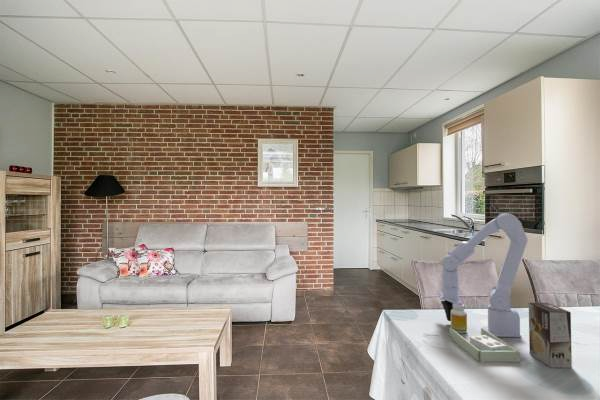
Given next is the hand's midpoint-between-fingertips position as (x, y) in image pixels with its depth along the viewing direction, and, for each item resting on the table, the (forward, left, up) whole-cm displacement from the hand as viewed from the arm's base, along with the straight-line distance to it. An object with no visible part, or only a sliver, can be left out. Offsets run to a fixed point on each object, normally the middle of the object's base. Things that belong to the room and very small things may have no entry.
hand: (450, 320), depth 121 cm
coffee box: (-16, +28, -2) cm, 32 cm away
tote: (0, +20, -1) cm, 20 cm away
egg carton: (0, +24, -2) cm, 24 cm away
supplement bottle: (0, +6, -2) cm, 6 cm away
